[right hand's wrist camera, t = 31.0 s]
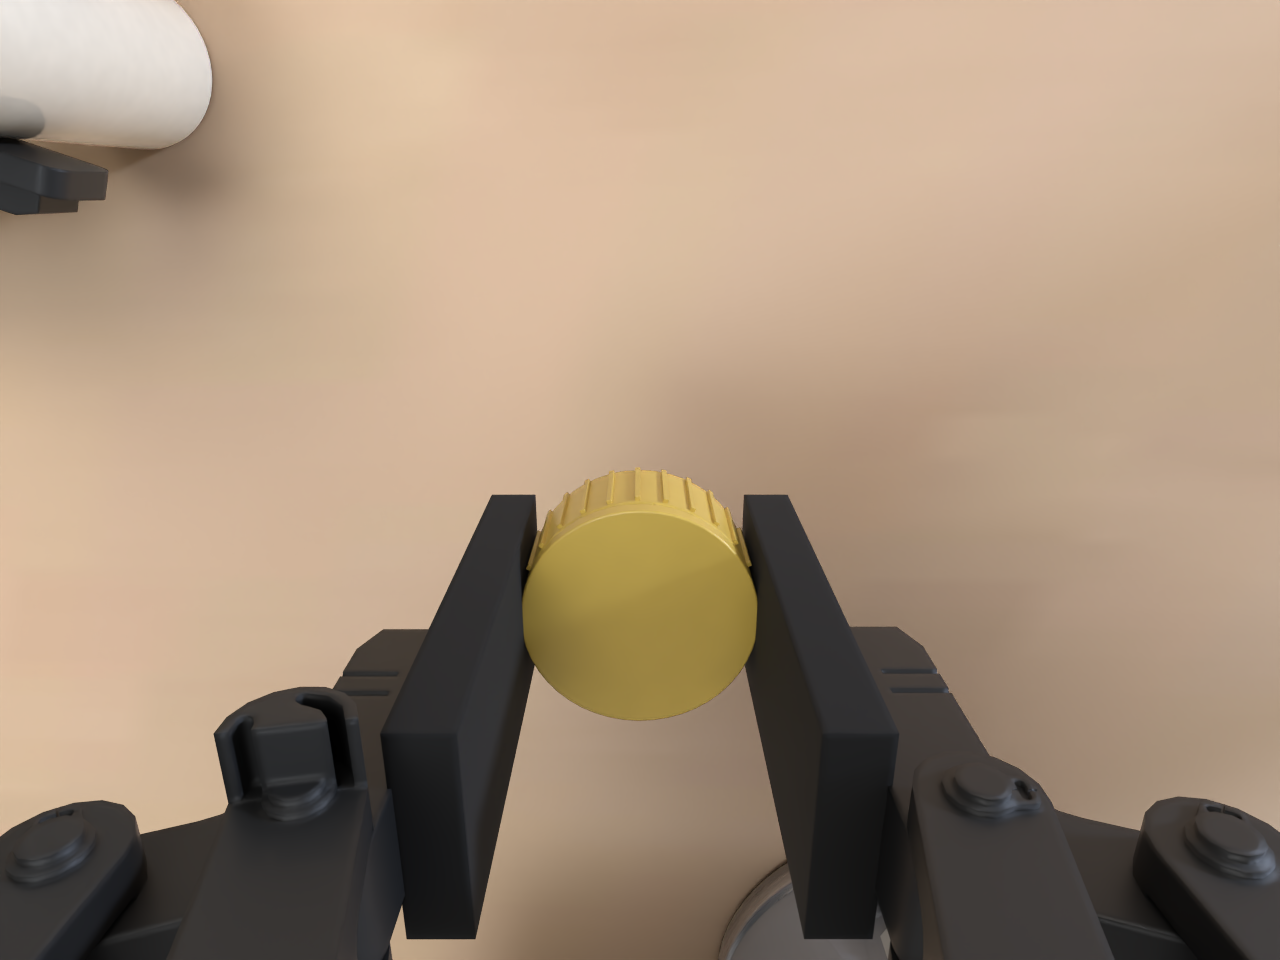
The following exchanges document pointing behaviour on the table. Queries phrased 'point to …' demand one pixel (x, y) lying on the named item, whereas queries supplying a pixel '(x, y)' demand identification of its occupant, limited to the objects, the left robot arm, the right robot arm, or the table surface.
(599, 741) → the table surface
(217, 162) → the table surface
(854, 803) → the right robot arm
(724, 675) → the cap
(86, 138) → the bottle
